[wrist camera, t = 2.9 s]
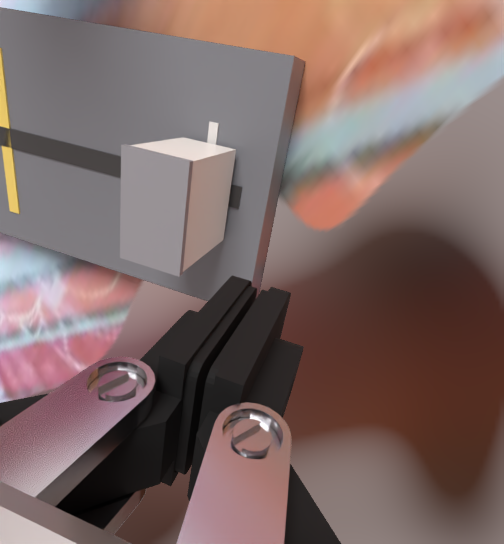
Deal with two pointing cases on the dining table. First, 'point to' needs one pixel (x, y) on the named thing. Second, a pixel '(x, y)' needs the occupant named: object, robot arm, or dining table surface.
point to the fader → (173, 201)
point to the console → (135, 136)
